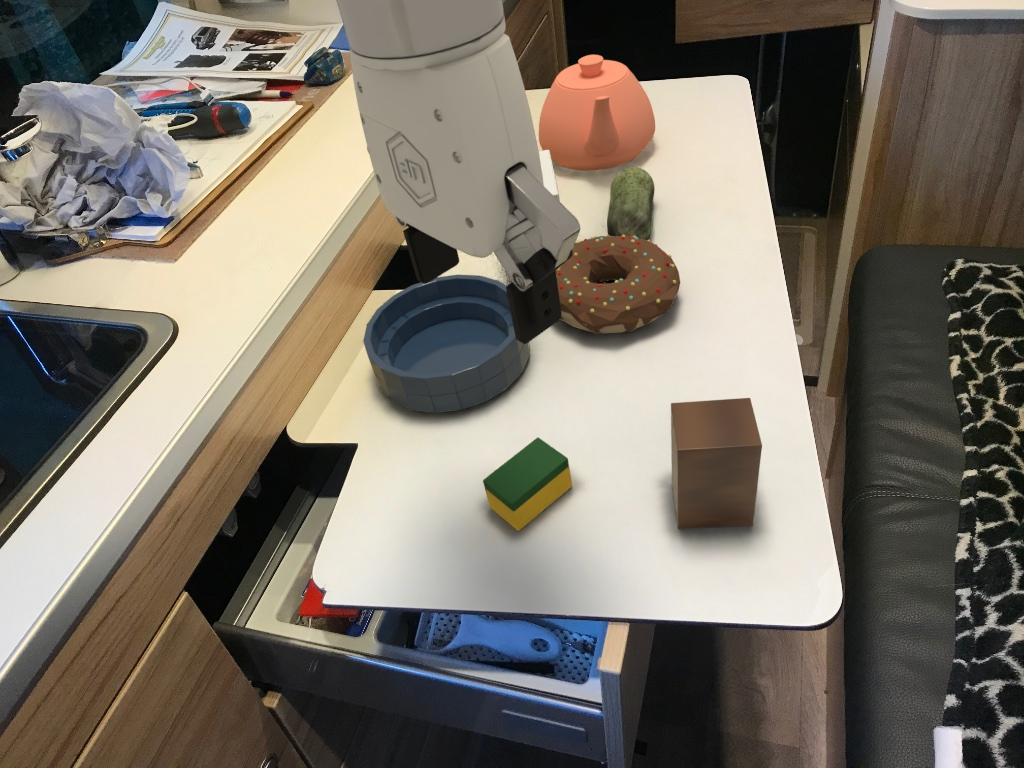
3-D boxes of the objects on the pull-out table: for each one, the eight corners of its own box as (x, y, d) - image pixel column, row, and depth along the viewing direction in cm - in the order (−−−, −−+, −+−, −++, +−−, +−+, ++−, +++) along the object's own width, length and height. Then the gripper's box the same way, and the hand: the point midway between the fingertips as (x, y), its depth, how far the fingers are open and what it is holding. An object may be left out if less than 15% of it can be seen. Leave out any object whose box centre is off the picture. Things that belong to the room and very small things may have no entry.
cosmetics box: (570, 278, 81) (559, 192, 74) (511, 287, 82) (496, 203, 75) (560, 228, 89) (550, 146, 82) (507, 237, 89) (492, 156, 82)
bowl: (429, 442, 66) (416, 403, 63) (352, 363, 76) (336, 325, 73) (561, 359, 72) (556, 318, 68) (473, 294, 82) (464, 256, 78)
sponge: (518, 531, 58) (511, 504, 56) (489, 507, 60) (482, 480, 58) (572, 486, 60) (568, 458, 58) (543, 464, 63) (537, 436, 60)
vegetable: (612, 198, 92) (610, 161, 89) (655, 196, 91) (654, 158, 88) (605, 263, 82) (601, 224, 79) (652, 261, 81) (651, 221, 78)
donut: (519, 314, 78) (512, 275, 75) (602, 250, 84) (599, 212, 81) (628, 366, 70) (625, 325, 66) (711, 291, 76) (712, 250, 72)
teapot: (671, 184, 92) (670, 84, 84) (547, 203, 94) (534, 107, 85) (643, 111, 108) (640, 21, 100) (537, 128, 110) (525, 41, 101)
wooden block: (677, 529, 56) (677, 450, 50) (671, 482, 59) (670, 402, 53) (753, 525, 55) (762, 445, 49) (742, 478, 58) (750, 397, 52)
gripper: (267, 11, 39) (362, 280, 50) (478, 70, 28) (536, 394, 40) (384, -34, 42) (448, 229, 53) (613, 4, 31) (631, 322, 43)
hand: (486, 299), depth 46 cm, fingers open, 9 cm apart
